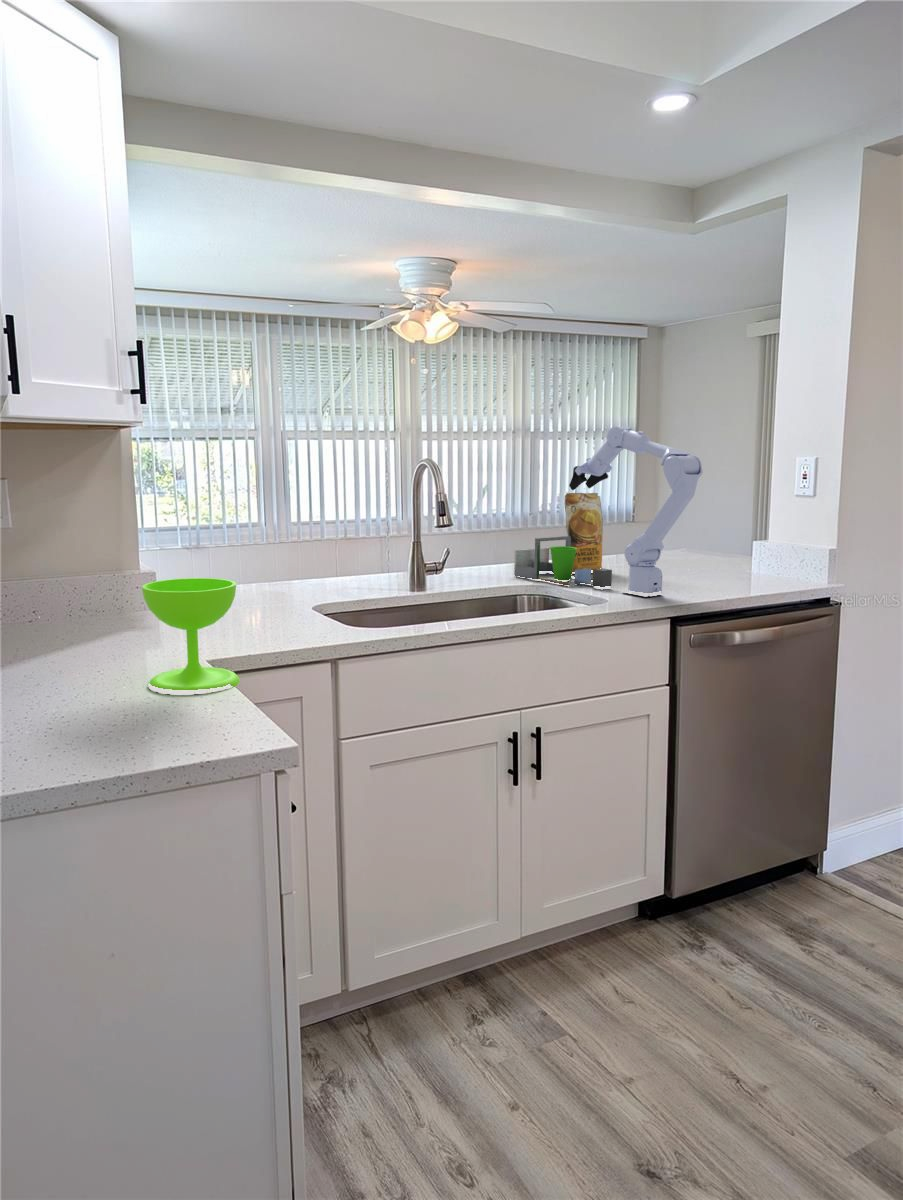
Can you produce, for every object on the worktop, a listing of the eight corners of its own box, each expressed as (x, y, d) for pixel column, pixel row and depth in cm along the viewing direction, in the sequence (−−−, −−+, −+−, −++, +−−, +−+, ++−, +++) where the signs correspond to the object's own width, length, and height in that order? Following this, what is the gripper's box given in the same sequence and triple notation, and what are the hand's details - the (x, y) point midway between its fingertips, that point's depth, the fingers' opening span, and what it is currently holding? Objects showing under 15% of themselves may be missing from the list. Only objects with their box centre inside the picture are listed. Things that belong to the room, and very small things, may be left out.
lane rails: (599, 583, 271) (599, 579, 271) (567, 587, 263) (567, 583, 263) (567, 577, 283) (567, 574, 283) (536, 580, 275) (536, 577, 275)
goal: (569, 577, 283) (570, 536, 281) (536, 581, 275) (537, 538, 272) (546, 573, 292) (548, 533, 290) (514, 576, 284) (515, 535, 281)
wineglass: (129, 684, 150) (123, 585, 147) (204, 667, 162) (200, 575, 159) (182, 701, 140) (177, 595, 137) (258, 681, 153) (255, 584, 150)
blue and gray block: (613, 588, 261) (614, 569, 260) (599, 590, 258) (600, 571, 257) (587, 583, 270) (588, 565, 269) (574, 585, 267) (574, 566, 266)
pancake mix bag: (555, 573, 292) (558, 492, 287) (595, 570, 302) (599, 491, 297) (568, 576, 286) (571, 493, 281) (609, 572, 297) (612, 492, 292)
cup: (577, 583, 271) (579, 549, 269) (549, 583, 271) (550, 549, 269) (574, 579, 280) (575, 546, 278) (547, 578, 280) (548, 546, 278)
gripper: (612, 446, 264) (588, 475, 273) (580, 449, 255) (557, 479, 264) (624, 463, 261) (599, 492, 271) (592, 466, 252) (568, 496, 262)
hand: (579, 486), depth 267 cm, fingers open, 7 cm apart
